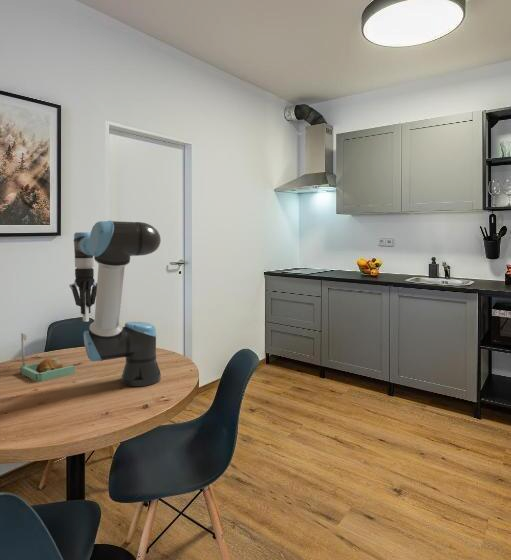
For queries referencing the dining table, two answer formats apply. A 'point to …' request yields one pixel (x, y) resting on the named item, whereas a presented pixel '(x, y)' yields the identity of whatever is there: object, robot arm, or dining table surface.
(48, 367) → the bread roll
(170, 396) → the dining table surface
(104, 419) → the dining table surface
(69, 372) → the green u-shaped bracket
